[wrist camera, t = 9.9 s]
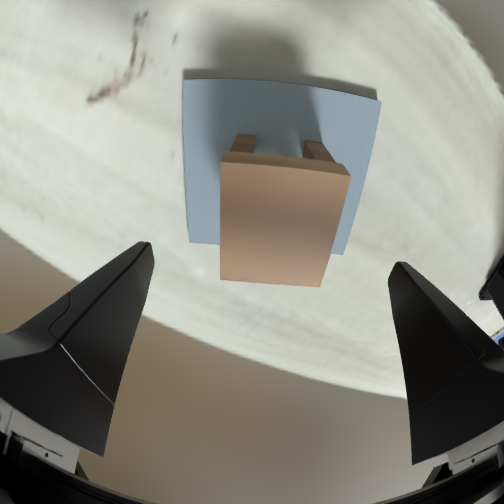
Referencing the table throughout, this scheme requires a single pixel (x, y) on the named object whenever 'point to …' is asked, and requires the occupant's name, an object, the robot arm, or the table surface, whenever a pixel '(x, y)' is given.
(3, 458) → the robot arm
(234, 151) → the walnut stool
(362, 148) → the slate mat
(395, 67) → the table surface
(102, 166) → the table surface
